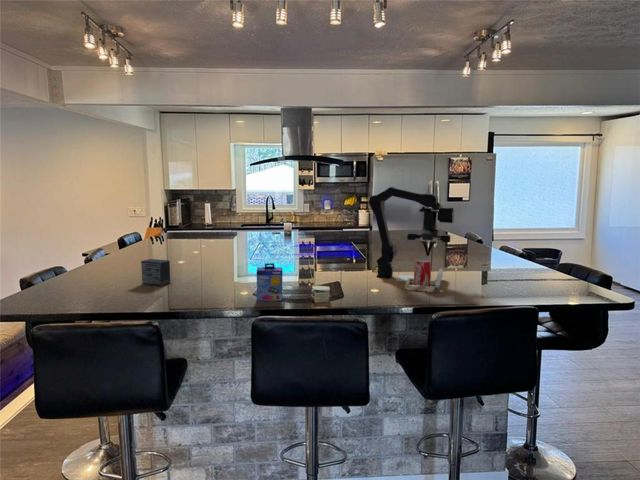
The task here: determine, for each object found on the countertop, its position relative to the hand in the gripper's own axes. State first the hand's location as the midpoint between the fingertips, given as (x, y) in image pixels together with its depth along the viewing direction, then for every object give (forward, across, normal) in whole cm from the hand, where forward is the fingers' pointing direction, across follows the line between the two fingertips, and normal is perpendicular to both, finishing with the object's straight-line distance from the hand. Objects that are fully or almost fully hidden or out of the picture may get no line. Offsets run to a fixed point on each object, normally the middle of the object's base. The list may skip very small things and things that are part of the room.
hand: (427, 255), depth 195 cm
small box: (+12, -111, -49) cm, 122 cm away
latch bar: (+10, +6, -6) cm, 13 cm away
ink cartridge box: (+12, -55, -52) cm, 77 cm away
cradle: (+12, -1, -12) cm, 17 cm away
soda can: (+12, -1, -12) cm, 17 cm away
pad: (+12, -8, +1) cm, 14 cm away
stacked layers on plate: (+12, -36, -47) cm, 60 cm away
